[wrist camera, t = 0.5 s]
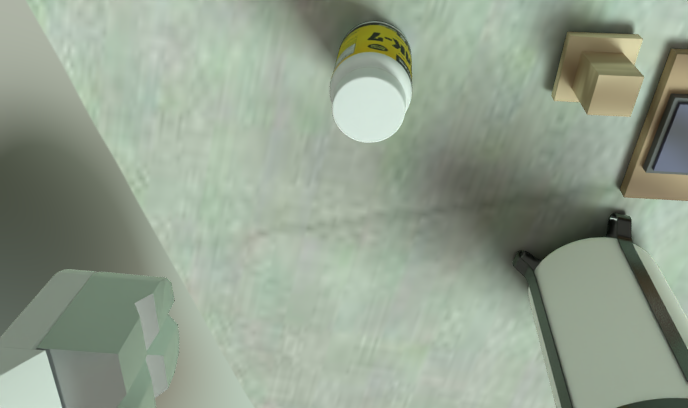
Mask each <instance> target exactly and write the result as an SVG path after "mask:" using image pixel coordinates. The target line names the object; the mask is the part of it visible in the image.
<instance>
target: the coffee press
mask: <svg viewBox="0 0 688 408" xmlns="http://www.w3.org/2000/svg"><path fill="white" fill-rule="evenodd" d="M512 264H513V266H514V267H515V268H516V269H517V270H518V271H519V272H520V273H521V274H522V275H523V276H524V277H525V278H526V280H527V282H528V284H529V288H528V295H529V301H530V306H531V310H532V314H533V318H534V322H535V326H536V330H537V334H538V338H539V342H540V346H541V350H542V354H543V358H544V362H545V365H546V369H547V373H548V377H549V381H550V385H551V389H552V393H553V397H554V401H555V405H556V408H688V319H687V317H686V315H685V313H684V311H683V310H682V308H681V306H680V304H679V302H678V301H677V299H676V297H675V295H674V293H673V292H672V290H671V288H670V286H669V284H668V283H667V281H666V279H665V277H664V276H663V274H662V272H661V270H660V269H659V267H658V265H657V264H656V262H655V261H654V259H653V258H652V257H651V256H650V255H649V254H648V253H647V252H646V251H645V250H644V249H642V248H641V247H639V246H637V245H635V244H633V243H632V238H631V218H630V216H626V215H622V214H617V213H613V214H612V215H611V216H610V218H609V221H608V228H607V234H606V237H596V238H587V239H582V240H578V241H575V242H572V243H569V244H566V245H564V246H562V247H560V248H558V249H557V250H555V251H553V252H552V253H550V254H549V255H548V256H547V257H546V258H544V259H543V260H542V261H540V260H538V259H537V258H535V257H534V256H532V255H531V254H530V253H528V252H526V251H522V250H521V251H518V252H517V254H516V256H515V258H514V260H513V262H512ZM533 270H534V271H533Z"/></svg>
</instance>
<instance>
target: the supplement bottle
mask: <svg viewBox="0 0 688 408" xmlns="http://www.w3.org/2000/svg"><path fill="white" fill-rule="evenodd" d="M411 62H412V59H411V50H410V46H409V43H408V41H407V39H406V38H405V36H404V35H403V34H402V33H401V32H400V31H399V30H398V29H397V28H395V27H394V26H392V25H390V24H387V23H384V22H379V21H370V22H365V23H362V24H360V25H358V26H356V27H355V28H353V29H352V30H351V31H350V32H349V33H348V34H347V35H346V36H345V38H344V39H343V41H342V44H341V46H340V50H339V53H338V57H337V60H336V63H335V67H334V71H333V74H332V78H331V82H330V98H331V102H332V114H333V118H334V121H335V123H336V125H337V126H338V128H339V129H340V130H341V131H342V132H343V133H344V134H345V135H347V136H348V137H350V138H351V139H354V140H356V141H360V142H365V143H373V142H379V141H382V140H385V139H387V138H389V137H390V136H392V135H393V134H394V133H395V132H396V131H397V130H398V129H399V127H400V126H401V124H402V122H403V119H404V116H405V113H406V111H407V109H408V107H409V105H410V102H411V98H412V63H411Z"/></svg>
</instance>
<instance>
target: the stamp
mask: <svg viewBox="0 0 688 408" xmlns="http://www.w3.org/2000/svg"><path fill="white" fill-rule="evenodd" d="M642 41H643V38H641V37H640V36H639V35H638V34H614V33H588V32H567V35H566V39H565V43H564V47H563V51H562V55H561V59H560V63H559V67H558V71H557V75H556V79H555V83H554V87H553V91H552V95H551V96H552V98H553V100H554V101H567V102H580V103H581V105H582V107H583V108H584V110H585V112H586V113H587V115H605V116H626V117H631V114H632V111H633V108H634V105H635V102H636V99H637V96H638V94H639V91H640V88H641V85H642V82H643V79H644V76H643V75H642V74H641V73H640V72H639V70H638V69H637V68H636V67H635V66H634V65H635V62H636V59H637V56H638V53H639V50H640V47H641V44H642Z"/></svg>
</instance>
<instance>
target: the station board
mask: <svg viewBox="0 0 688 408" xmlns="http://www.w3.org/2000/svg"><path fill="white" fill-rule="evenodd" d="M620 191H621V193H622V195H623V196H624V197H628V198H646V199H664V200H681V201H688V49H671V50H670V53H669V56H668V59H667V61H666V64H665V67H664V70H663V72H662V75H661V78H660V81H659V83H658V86H657V89H656V92H655V94H654V97H653V100H652V103H651V105H650V108H649V111H648V113H647V116H646V119H645V122H644V124H643V127H642V130H641V133H640V135H639V138H638V141H637V144H636V146H635V149H634V152H633V155H632V157H631V160H630V163H629V166H628V168H627V171H626V174H625V177H624V179H623V182H622V185H621V187H620Z"/></svg>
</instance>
